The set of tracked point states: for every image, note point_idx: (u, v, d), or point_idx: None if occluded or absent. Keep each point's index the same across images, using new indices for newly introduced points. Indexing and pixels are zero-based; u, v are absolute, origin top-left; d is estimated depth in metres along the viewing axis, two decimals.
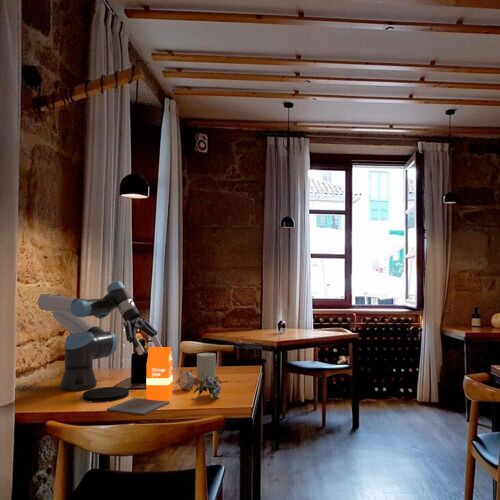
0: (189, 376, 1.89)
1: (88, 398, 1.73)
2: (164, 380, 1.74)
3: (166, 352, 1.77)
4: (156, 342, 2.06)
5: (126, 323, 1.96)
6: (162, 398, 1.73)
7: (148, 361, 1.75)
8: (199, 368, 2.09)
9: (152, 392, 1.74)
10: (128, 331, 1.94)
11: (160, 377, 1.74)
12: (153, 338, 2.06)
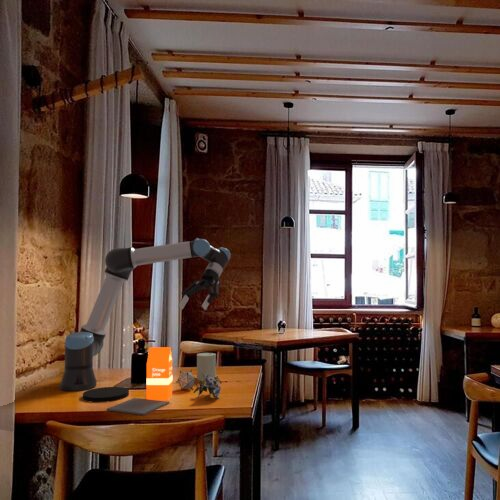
0: (189, 376, 1.89)
1: (88, 398, 1.73)
2: (164, 380, 1.74)
3: (166, 352, 1.77)
4: (184, 302, 2.04)
5: (218, 283, 2.05)
6: (162, 398, 1.73)
7: (148, 361, 1.75)
8: (199, 368, 2.09)
9: (152, 392, 1.74)
10: (217, 290, 2.01)
11: (160, 377, 1.74)
12: (186, 298, 2.06)
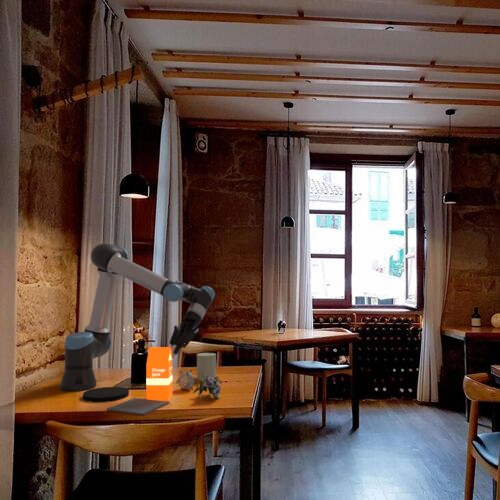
0: (189, 376, 1.89)
1: (88, 398, 1.73)
2: (164, 380, 1.74)
3: (166, 352, 1.77)
4: None
5: (196, 332, 1.90)
6: (162, 398, 1.73)
7: (148, 361, 1.75)
8: (199, 368, 2.09)
9: (152, 392, 1.74)
10: (189, 340, 1.87)
11: (160, 377, 1.74)
12: None
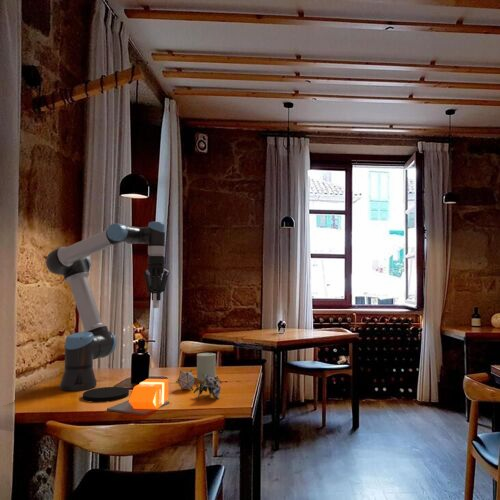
0: (189, 376, 1.89)
1: (88, 398, 1.73)
2: None
3: (150, 404, 1.56)
4: None
5: (167, 274, 2.00)
6: None
7: (134, 407, 1.59)
8: (199, 368, 2.09)
9: None
10: (165, 284, 2.01)
11: None
12: None
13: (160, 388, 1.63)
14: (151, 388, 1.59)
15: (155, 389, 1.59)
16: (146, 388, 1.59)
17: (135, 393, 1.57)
